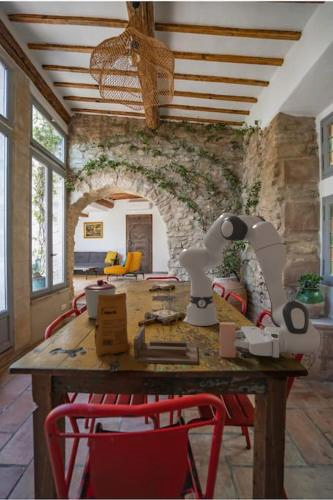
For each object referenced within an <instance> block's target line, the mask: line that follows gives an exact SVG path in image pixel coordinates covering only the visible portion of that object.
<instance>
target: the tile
mask: <svg viewBox="0 0 333 500" xmlns="http://www.w3.org/2000/svg"><path fill="white" fill-rule="evenodd" d="M236 328H237V324H236V323H235V322H228V321H227V322H223V321H222V322H220V323H219V330H220V332H219V357H220V358H231V359H232V358H233V359H234V358H237V355H236V354H237V353H236V352H237V348H236V347H237V346H234V340H236Z"/></svg>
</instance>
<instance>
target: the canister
mask: <svg viewBox="0 0 333 500" xmlns="http://www.w3.org/2000/svg"><path fill="white" fill-rule="evenodd" d="M116 289H117V286H115V285H114V284H110V283H104V280H103V279H98V280H97V281H96V283H95V284H94V283H93V284H88V285H87V286H85V287H84V288H83V291H84V296H85V297H84V298H85V304H86V311H87V316H88V317H89V318H90V319H92V318H93V319H92V320H97V308H98V295H99V294H105V295H115V294H116Z"/></svg>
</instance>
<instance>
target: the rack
mask: <svg viewBox="0 0 333 500" xmlns="http://www.w3.org/2000/svg"><path fill="white" fill-rule="evenodd" d="M198 359H199V357H198V345H197V344H194V343H193V344H192V343H191V344H189V343H187V340H164V339H163V340H160V339H159V340H158V339H150V340H149V342H146V326H145V325H141V327H140V328H139V330H138V332H137V333H136V335H135V337H134V338H133V363H150V364H151V363H153V364H154V363H155V364H176V365H177V364H180V365H182V364H183V365H198Z"/></svg>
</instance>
